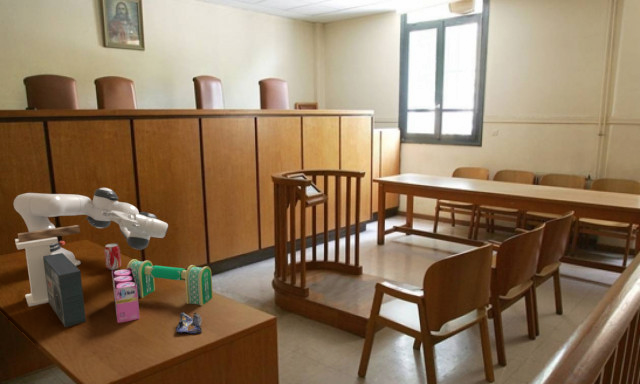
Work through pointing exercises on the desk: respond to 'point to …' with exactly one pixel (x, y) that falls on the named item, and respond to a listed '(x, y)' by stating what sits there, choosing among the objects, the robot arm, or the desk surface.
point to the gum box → (125, 295)
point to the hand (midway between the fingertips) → (105, 215)
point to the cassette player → (64, 289)
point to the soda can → (112, 256)
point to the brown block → (48, 233)
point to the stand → (37, 268)
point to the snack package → (188, 320)
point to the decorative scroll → (195, 279)
